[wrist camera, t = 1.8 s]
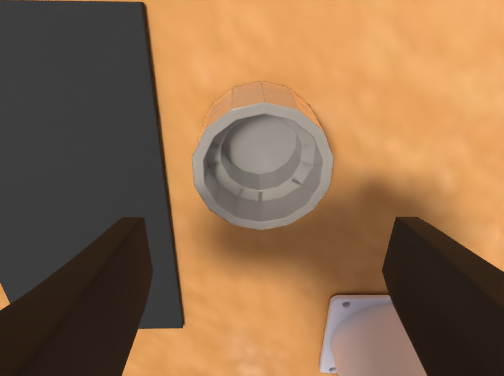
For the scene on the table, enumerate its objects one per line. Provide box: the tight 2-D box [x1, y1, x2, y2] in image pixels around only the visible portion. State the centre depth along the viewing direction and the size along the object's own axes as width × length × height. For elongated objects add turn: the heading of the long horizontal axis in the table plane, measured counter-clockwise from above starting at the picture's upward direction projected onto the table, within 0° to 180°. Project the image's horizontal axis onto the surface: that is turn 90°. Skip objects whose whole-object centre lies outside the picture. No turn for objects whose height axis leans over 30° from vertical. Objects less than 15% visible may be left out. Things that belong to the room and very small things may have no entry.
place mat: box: [0, 0, 184, 329], centre depth 19 cm, size 11×20×1 cm, turn 179°
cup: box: [192, 81, 334, 230], centre depth 16 cm, size 6×6×4 cm
